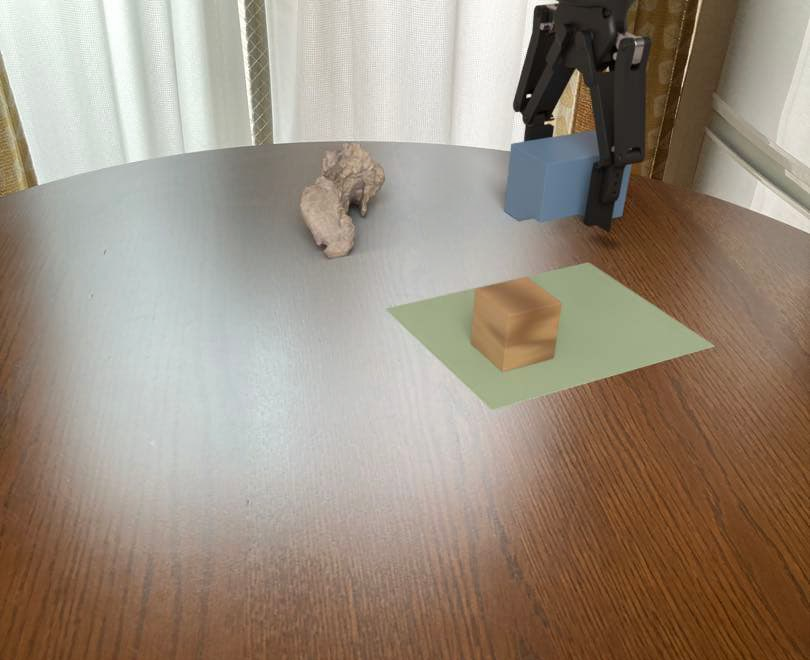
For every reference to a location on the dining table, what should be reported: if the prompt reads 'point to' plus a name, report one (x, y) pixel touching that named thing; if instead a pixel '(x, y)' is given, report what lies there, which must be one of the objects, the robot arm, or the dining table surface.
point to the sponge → (555, 177)
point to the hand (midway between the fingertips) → (562, 211)
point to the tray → (576, 340)
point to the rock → (340, 196)
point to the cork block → (515, 323)
